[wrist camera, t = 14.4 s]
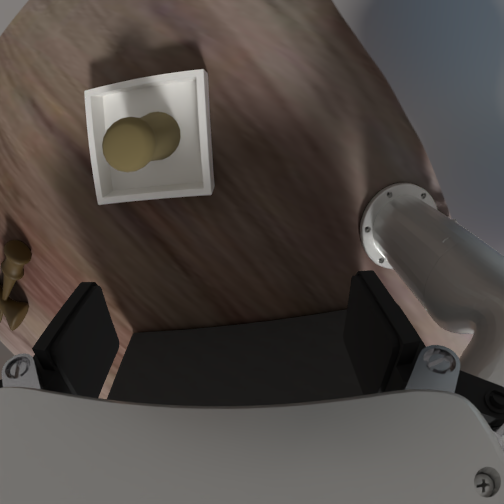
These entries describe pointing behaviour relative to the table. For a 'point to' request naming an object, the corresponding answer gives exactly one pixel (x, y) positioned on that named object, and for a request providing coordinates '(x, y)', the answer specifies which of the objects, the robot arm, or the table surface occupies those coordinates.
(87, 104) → the box
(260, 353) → the laptop
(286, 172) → the table surface
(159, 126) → the cork
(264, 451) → the robot arm
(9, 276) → the kendama
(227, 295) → the table surface
